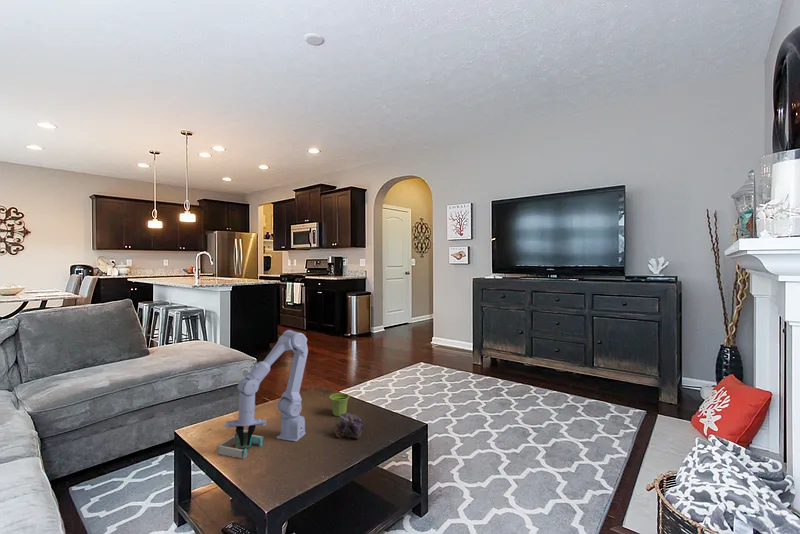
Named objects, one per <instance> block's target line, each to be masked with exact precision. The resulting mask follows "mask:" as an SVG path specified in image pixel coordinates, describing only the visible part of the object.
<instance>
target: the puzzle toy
mask: <svg viewBox="0 0 800 534" xmlns="http://www.w3.org/2000/svg"><path fill="white" fill-rule="evenodd" d="M234 435H235V444H234V448H237V449H242V450H243V449H245V448H247V449H248V448H251V446H252V444H253V443H252V436H251V439H250V444H249V446H247V441H248V429H244V433H243V439H244V442H243V446H241V443H240V439H239V437H238V434H237V433H236V432H235V433H234Z"/></svg>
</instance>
